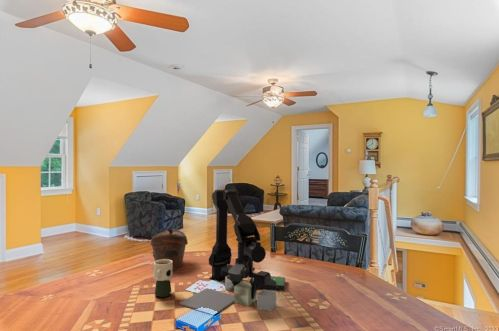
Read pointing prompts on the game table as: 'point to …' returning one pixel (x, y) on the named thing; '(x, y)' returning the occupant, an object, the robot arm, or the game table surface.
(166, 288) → the character mug
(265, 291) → the slate block
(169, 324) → the game table surface
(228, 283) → the metal tin
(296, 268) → the game table surface
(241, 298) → the sage block
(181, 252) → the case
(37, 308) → the game table surface
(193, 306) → the mat
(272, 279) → the disk drive
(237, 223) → the robot arm
